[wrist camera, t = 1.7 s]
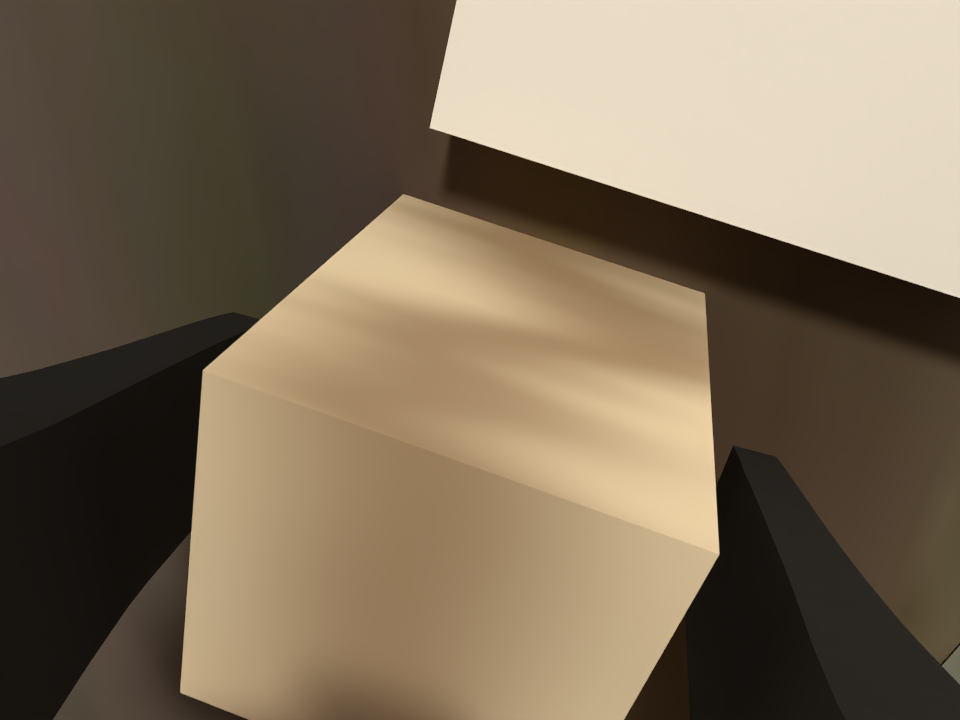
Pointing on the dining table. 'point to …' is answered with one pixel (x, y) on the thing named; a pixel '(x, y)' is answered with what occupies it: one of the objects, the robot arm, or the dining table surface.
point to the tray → (953, 665)
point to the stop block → (451, 484)
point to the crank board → (734, 113)
